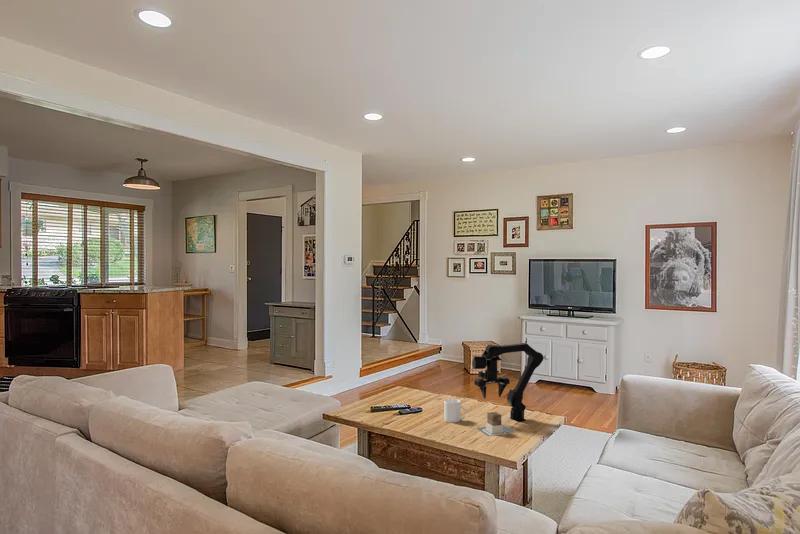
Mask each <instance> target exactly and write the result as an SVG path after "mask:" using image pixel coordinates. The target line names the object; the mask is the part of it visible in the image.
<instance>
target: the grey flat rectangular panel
mask: <svg viewBox="0 0 800 534" xmlns="http://www.w3.org/2000/svg"><path fill="white" fill-rule="evenodd" d="M502 425H503V433H500V434H493V435H492V434H490V433H489V432H487V431H486V426H482V427H477V428H475V429H476V430H478V431H479V432H481V433H482V434H483V435H485V436H487V437H493V436H500V435H507V434H513V433H516V431H514V430H513V429H511V428H510V427H508V426H506V425H505V424H502Z"/></svg>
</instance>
